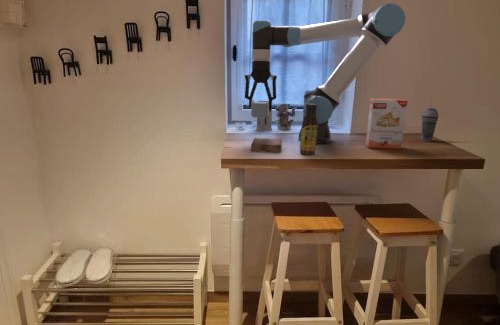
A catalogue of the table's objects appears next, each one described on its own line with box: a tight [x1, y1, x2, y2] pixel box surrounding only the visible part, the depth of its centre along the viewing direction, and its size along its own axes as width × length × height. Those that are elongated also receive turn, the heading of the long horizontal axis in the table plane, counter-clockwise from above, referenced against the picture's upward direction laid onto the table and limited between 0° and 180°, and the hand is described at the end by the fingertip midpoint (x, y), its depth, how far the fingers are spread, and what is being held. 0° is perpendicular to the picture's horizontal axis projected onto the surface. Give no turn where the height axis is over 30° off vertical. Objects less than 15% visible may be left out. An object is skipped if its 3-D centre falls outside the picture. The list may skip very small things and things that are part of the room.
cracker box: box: [365, 98, 408, 150], centre depth 157 cm, size 14×6×21 cm, turn 86°
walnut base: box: [250, 137, 283, 153], centre depth 156 cm, size 12×12×3 cm
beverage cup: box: [420, 97, 439, 143], centre depth 172 cm, size 7×7×20 cm
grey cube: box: [251, 101, 267, 118], centre depth 159 cm, size 6×6×6 cm
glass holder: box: [255, 100, 273, 133], centre depth 192 cm, size 9×14×15 cm, turn 162°
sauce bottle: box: [299, 104, 318, 156], centre depth 146 cm, size 6×6×20 cm
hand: (260, 115), depth 160 cm, fingers closed on grey cube, 6 cm apart
